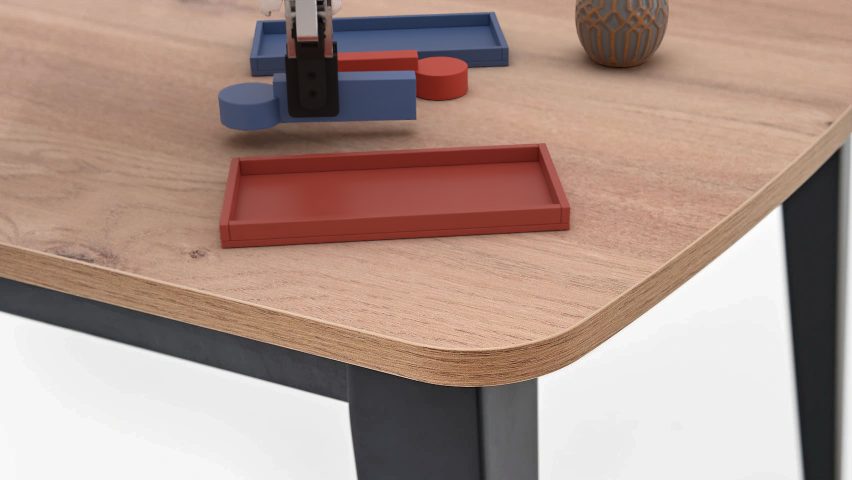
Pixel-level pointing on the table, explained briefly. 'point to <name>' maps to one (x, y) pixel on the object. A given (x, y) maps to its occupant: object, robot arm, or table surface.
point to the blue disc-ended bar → (357, 102)
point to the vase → (621, 29)
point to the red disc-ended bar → (432, 74)
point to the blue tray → (395, 38)
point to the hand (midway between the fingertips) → (314, 107)
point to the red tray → (391, 195)
